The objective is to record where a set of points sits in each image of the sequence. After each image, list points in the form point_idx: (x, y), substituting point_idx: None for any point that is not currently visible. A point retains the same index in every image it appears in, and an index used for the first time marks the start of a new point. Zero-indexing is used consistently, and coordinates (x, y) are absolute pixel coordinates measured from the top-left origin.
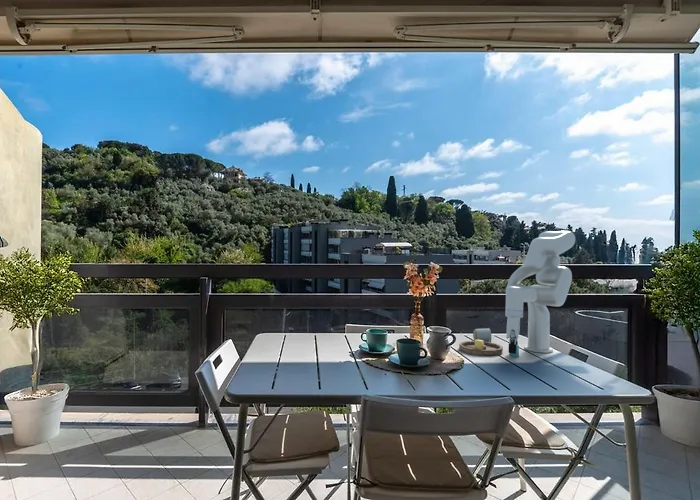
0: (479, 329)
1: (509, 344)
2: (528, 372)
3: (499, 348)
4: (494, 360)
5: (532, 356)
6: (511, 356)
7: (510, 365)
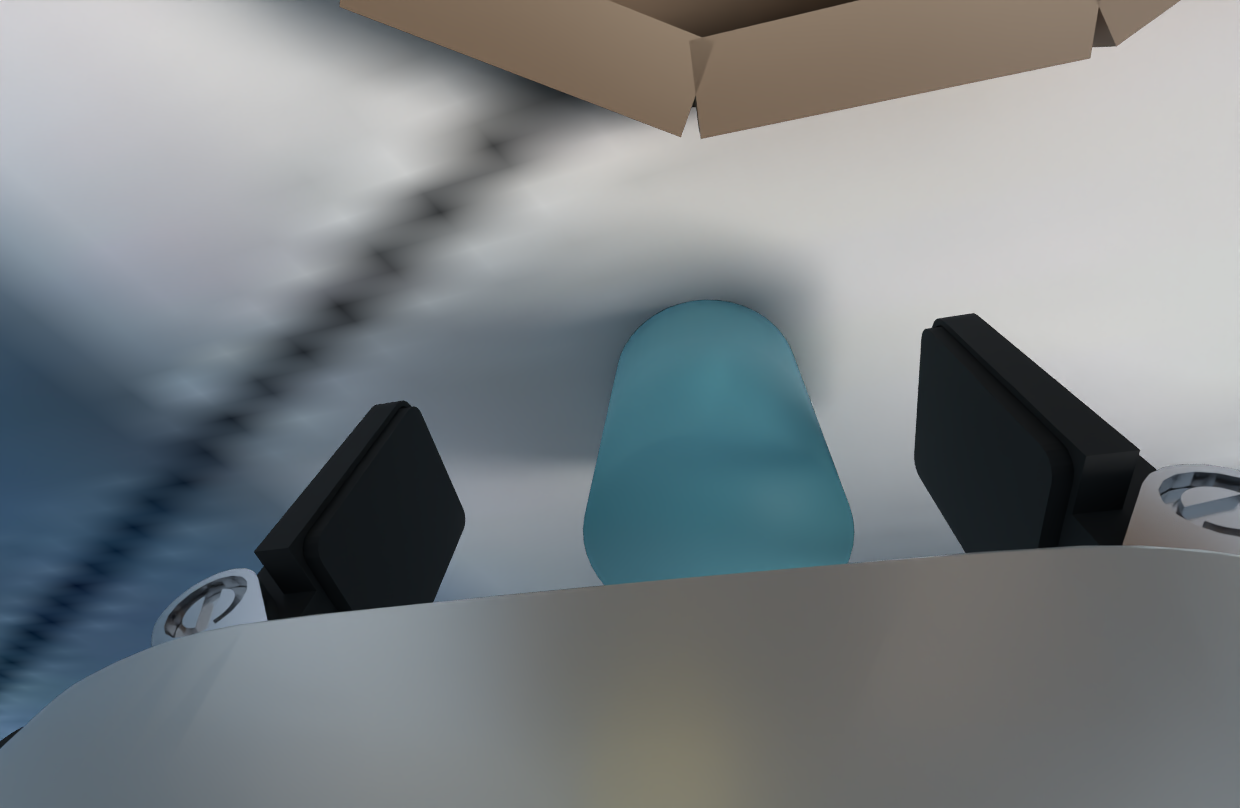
0: None
1: (277, 558)
2: (36, 641)
3: (727, 41)
4: (59, 150)
5: None
6: (620, 358)
7: (73, 455)
